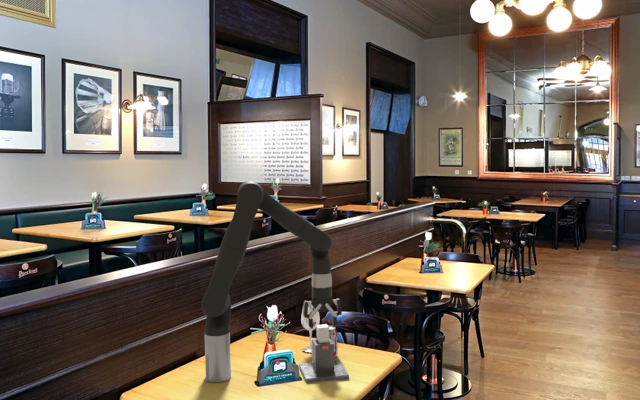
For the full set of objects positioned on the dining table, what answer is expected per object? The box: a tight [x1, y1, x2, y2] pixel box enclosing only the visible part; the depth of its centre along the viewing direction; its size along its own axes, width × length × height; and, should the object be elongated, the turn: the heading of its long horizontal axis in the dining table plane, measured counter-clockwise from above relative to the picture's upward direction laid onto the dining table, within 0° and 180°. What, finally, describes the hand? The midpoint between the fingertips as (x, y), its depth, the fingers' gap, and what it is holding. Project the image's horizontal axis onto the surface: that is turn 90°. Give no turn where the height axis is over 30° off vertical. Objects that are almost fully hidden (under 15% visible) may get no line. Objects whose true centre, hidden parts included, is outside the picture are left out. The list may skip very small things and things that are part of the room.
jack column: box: [315, 323, 329, 344], centre depth 216 cm, size 4×4×16 cm
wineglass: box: [300, 304, 321, 354], centre depth 241 cm, size 8×8×20 cm
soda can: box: [328, 325, 338, 358], centre depth 234 cm, size 7×7×12 cm
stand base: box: [298, 338, 350, 384], centre depth 216 cm, size 16×16×12 cm
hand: (322, 327), depth 215 cm, fingers open, 8 cm apart
